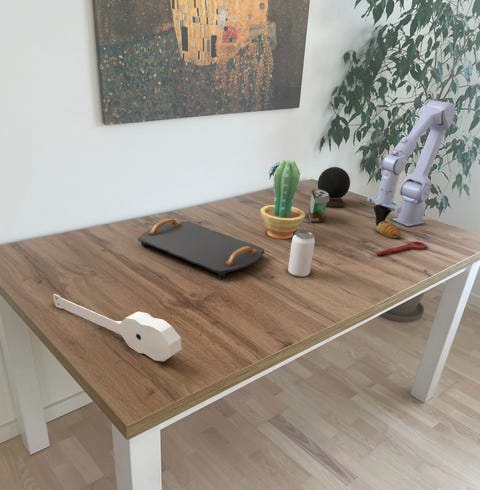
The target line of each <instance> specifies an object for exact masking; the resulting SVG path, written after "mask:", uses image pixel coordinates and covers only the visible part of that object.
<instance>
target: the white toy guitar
mask: <svg viewBox="0 0 480 490" xmlns="http://www.w3.org/2000/svg"><path fill="white" fill-rule="evenodd" d="M52 297H53V303H54V306H55V307H57V308H59V309H60V310H61V309H62V310H66V311H67V312H69V313H72V314H74V315H76V316H78V317H81V318H82V319H85V320H87V321H90V322H91V323H94V324H96V325H98V326H101V327H103V328H105V329H107V330H109V331H111V332H114V333H116V334H118V335H120V336H121V337H122V338H123V340H124V341H125V343H126V344H127V346H128V347H129V348H130V349H132V350H133V351H135V352H136V353H138V354H144V355H146V356H147V357H149V358H150V359H152V360H153V361H156V362H165V361H167V360H168V359H170V358H171V357H173V356H174V355H176V354H177V353H179V352H180V351H182V337H181V336H180V334H179V333H178V332H177V331H176V330H175V328H174V327H173V326H172V325H171V324H170V323H168V322H167V321H166V320H165V319H162V318H157V317H153V316H152V315H150V314H149V313H148V312H143V311H136V312H134V313H132V314H130V315H128V316H126V317H125V318H124V319H123V320H114V319H112V318H109V317H107V316H105V315H102V314H99V313H98V312H95V311H93V310H91V309H88V308H86V307H84V306H81V305H79V304H76V303H74V302H72V301H70V300H68V299H65V298H63V297H61V296H60V295H58V294H56V293H53V294H52Z"/></svg>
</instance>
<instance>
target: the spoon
mask: <svg viewBox="0 0 480 490" xmlns="http://www.w3.org/2000/svg"><path fill="white" fill-rule="evenodd" d="M426 247H427V244H426V243H425V242H423V241H409V243H408V244H405V245H401V246H396V247H392V248H391V247H390V248H387V249H382V250H379V251H378V250H377V252H376V255H377V257H380V256H385V255H390V254H393V253H398V252H402V251H407V250H417V251H422V250H424V249H426Z"/></svg>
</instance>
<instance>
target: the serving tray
mask: <svg viewBox="0 0 480 490" xmlns="http://www.w3.org/2000/svg"><path fill="white" fill-rule="evenodd" d="M137 241H139V242H140V244H141V246H142V247H144V248H146V247H147V246H151V247H153V248H155V249H157V250H159V251H162V252H165V253H168V254H169V255H172V256H174V257H177V258H180V259H183V260H184V261H186V262H189V263H190V264H194V265H197V266H198V267H199V266H200V267H202V268H204V269H206V270H209V271H210V272H211V271H212V272H214V273H216V274H217V277H218V278H219V279H221V280H223V279H225V277H226V273H231V272H235V271H239V270H242V269H245V268H248V267H249V266H252V265H253V264H256V263H257V262H259V260H261V258H262V257H263V255H264V253H265V249H264V248H263V247H260V246H258V245H255V244H252V243H250V242H248V241H244V240H241V239H238V238H235V237H233V236H231V235H227V234H225V233H221V232H219V231H216V230H214V229H211V228H207V227H205V226H202V225H199V224H197V223H193V222H190V221H177V220H175V219H174V218H165V219H162V220H159V221H158V222H156V223H155V224H154V225H153V226H152V228H150V229H148V230H146V231H144V232H143V233H142V234H141V235H140V236H139V237H138V238H137Z"/></svg>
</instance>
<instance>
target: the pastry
mask: <svg viewBox="0 0 480 490" xmlns="http://www.w3.org/2000/svg"><path fill="white" fill-rule="evenodd" d="M375 228H376V231H377V233H379V234H381V235H383V236H384V237H387V238H391V239H397V238H400V237H401V235H402V233H401V230H400V229H399V227H398V226H397V225H396V224H394V223H392V222H389V221H387V220H385V221H382V222H380V223H379V224H378V225H377V226H376V227H375Z"/></svg>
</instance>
